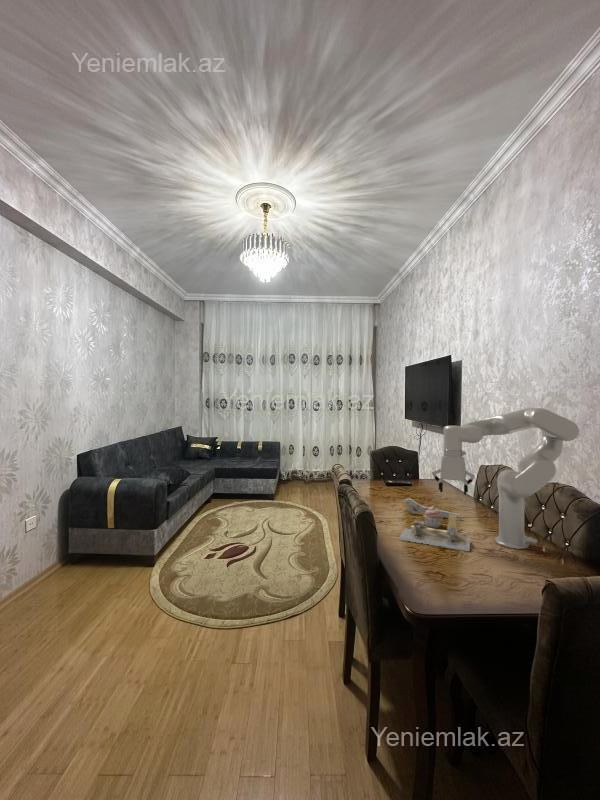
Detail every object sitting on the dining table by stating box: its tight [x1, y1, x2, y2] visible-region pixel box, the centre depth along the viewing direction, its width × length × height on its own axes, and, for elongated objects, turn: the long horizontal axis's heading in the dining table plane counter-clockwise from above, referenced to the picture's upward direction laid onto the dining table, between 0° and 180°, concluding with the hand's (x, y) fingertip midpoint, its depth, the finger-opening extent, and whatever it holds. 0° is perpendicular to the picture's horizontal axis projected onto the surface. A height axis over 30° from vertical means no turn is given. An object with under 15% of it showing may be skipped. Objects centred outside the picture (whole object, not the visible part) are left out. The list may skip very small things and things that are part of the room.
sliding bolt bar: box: [410, 520, 467, 541], centre depth 161 cm, size 23×6×5 cm, turn 63°
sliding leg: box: [446, 514, 459, 540], centre depth 159 cm, size 4×6×9 cm, turn 153°
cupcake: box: [422, 505, 444, 529], centre depth 180 cm, size 9×9×10 cm
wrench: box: [402, 498, 463, 521], centre depth 195 cm, size 8×2×30 cm
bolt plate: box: [399, 527, 471, 552], centre depth 160 cm, size 28×12×2 cm, turn 63°
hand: (453, 492), depth 160 cm, fingers open, 9 cm apart
